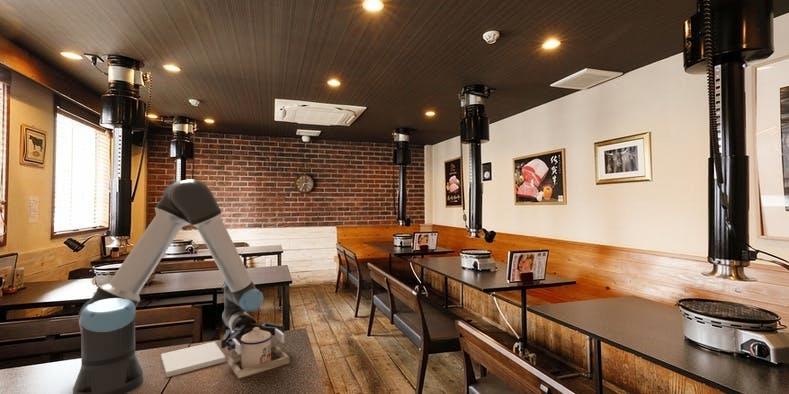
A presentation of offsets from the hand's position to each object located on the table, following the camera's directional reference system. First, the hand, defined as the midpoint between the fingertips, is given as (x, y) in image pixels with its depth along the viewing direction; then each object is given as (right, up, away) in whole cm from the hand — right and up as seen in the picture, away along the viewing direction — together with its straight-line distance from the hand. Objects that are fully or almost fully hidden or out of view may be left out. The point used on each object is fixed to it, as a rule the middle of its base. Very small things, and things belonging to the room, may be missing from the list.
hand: (262, 343), depth 110 cm
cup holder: (-2, -7, +3) cm, 8 cm away
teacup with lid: (-2, -7, +3) cm, 8 cm away
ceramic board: (-25, -7, +6) cm, 26 cm away
